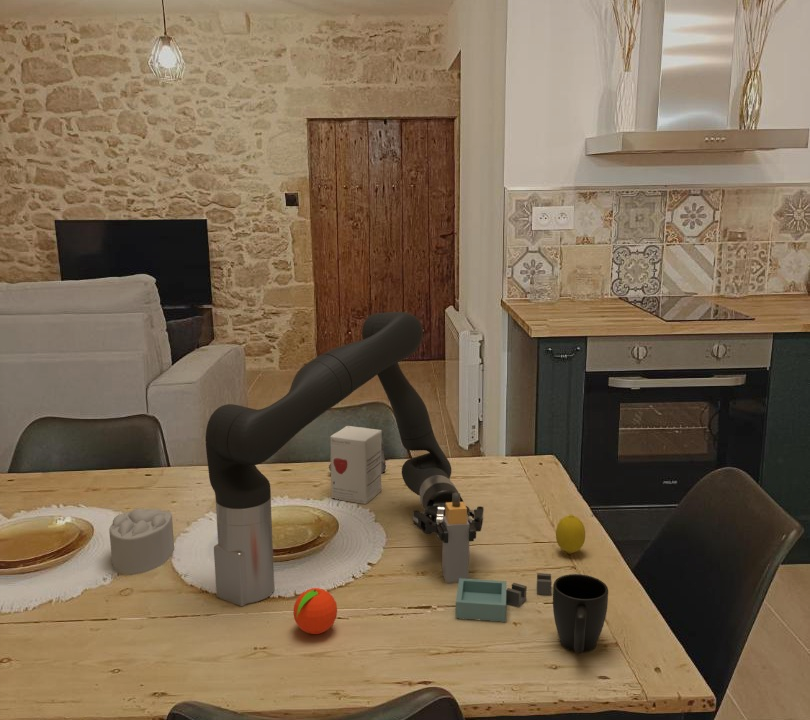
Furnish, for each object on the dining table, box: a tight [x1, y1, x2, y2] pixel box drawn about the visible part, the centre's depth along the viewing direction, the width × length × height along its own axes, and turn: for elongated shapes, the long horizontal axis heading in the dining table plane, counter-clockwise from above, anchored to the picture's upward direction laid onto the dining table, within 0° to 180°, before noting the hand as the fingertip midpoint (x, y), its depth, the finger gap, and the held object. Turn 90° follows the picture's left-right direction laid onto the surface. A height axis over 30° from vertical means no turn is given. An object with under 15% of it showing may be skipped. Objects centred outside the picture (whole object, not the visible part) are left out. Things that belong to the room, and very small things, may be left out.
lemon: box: [555, 514, 586, 555], centre depth 154 cm, size 6×6×8 cm
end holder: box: [455, 578, 508, 623], centre depth 135 cm, size 8×8×3 cm
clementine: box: [293, 587, 338, 635], centre depth 127 cm, size 8×7×7 cm
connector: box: [441, 492, 470, 584], centre depth 144 cm, size 4×4×16 cm
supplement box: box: [330, 425, 383, 505], centre depth 182 cm, size 9×9×15 cm
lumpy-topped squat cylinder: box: [108, 507, 175, 576], centre depth 152 cm, size 10×13×9 cm
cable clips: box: [506, 572, 552, 608], centre depth 138 cm, size 9×5×2 cm, turn 147°
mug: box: [552, 573, 609, 654], centre depth 122 cm, size 8×12×10 cm
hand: (459, 537), depth 141 cm, fingers closed on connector, 4 cm apart
